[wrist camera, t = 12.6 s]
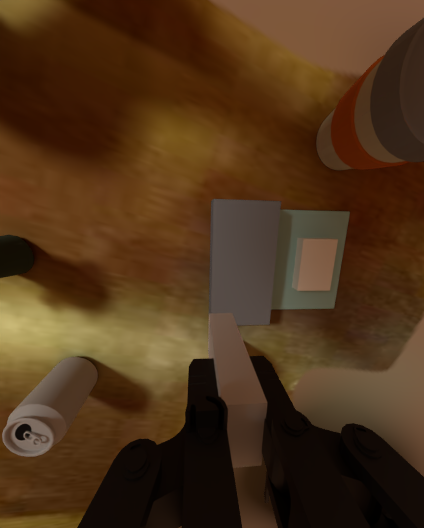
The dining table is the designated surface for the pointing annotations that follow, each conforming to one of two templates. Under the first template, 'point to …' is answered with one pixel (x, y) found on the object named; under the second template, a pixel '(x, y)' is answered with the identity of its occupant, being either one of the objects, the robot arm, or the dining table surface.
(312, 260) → the beige rectangular block
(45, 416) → the can
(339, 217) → the mat
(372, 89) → the reusable coffee cup
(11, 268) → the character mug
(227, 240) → the board
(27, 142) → the dining table surface
